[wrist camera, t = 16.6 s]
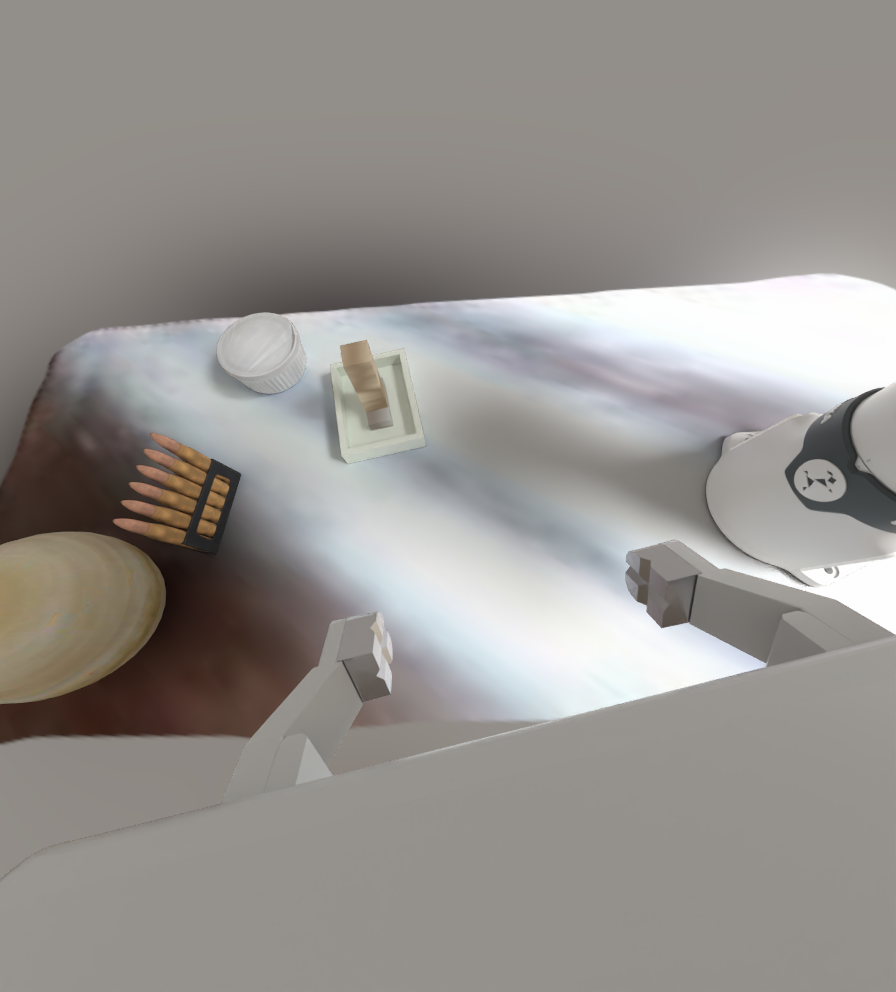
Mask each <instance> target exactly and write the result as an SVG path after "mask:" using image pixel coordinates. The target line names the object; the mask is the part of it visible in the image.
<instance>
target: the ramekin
mask: <svg viewBox="0 0 896 992" xmlns="http://www.w3.org/2000/svg"><path fill="white" fill-rule="evenodd" d="M217 359H218V362H219V364H220V365H221V367H222V368H223V369H224V370H225V371H226V372H227V373H228V374H229V375H231V376H232V377H234V378H236V379H238V380H239V381H241V382H242V383H243V384H245V385H246V386H247V387H249V388H250V389H252V390H254V391H256V392H260V393H265V394H274V393H280V392H283V391H286V390H288V389H290V388H291V387H293V386H294V385H295V384H296V383H298V381H299V380H300V379H301V378H302V376H303V374H304V372H305V369H306V354H305V352H304V349H303V347H302V344H301V342H300V338H299V334H298V332H297V330H296V328H295V327H294V325H293V324H292V323H291V322H290V321H289V320H288V319H287V318H285V317H283V316H281V315H278V314H274V313H256V314H252V315H248V316H246V317H243V318H241V319H239V320H238V321H236V322H235V323H233V324H232V325H231V326H230V327H228V328H227V330H226V331H225V332H224V333H223V334H222V336H221V337H220V339H219V341H218V344H217Z"/></svg>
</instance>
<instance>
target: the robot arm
mask: <svg viewBox="0 0 896 992" xmlns="http://www.w3.org/2000/svg"><path fill="white" fill-rule="evenodd" d="M706 498H707V503H708V507H709V510H710V512H711V515H712V517H713V519H714V521H715V522H716V524H717V526H718V527H719V528H720V530H721V531H722V532H723V533H724V535H725V536H726V537H727V538H728V539H729V540H730V541H731V542H732V543H733V544H735V545H736V546H737V547H738V548H740V549H741V550H742V551H744V552H745V553H747V554H749V555H750V556H752V557H754V558H756V559H758V560H760V561H763V562H765V563H768V564H771V565H775V566H778V567H780V568H783V569H785V570H787V571H789V572H790V573H792V574H793V575H794V576H796V577H797V578H799V579H800V580H802V581H803V582H805V583H806V584H808V585H810V586H813V587H821V586H826V585H830V584H832V583H834V582H836V581H838V580H839V579H841V578H843V577H845V576H847V575H849V574H851V573H853V572H855V571H857V570H859V569H860V568H862V567H864V566H866V565H868V564H870V563H872V562H874V561H876V560H882V559H887V558H892V557H896V382H895V383H893V384H891V385H889V386H887V387H883V388H877V389H873V390H871V391H868V392H865V393H863V394H861V395H859V396H857V397H855V398H851V399H849V400H847V401H845V402H843V403H841V404H839V405H837V406H836V407H834V408H833V409H831V410H830V411H829V412H827V413H824V414H816V413H815V412H811V413H807V414H804V415H801V414H795V415H792V416H790V417H788V418H786V419H784V420H782V421H780V422H778V423H776V424H775V425H773V426H771V427H769V428H767V429H765V430H763V431H760V432H739V433H734V434H732V435H730V436H728V437H726V438H725V440H724V442H723V446H722V455H721V458H720V459H719V461H718V462H717V463H716V465H715V466H714V467H713V469H712V470H711V472H710V474H709V477H708V480H707V485H706ZM626 562H627V563H628V564H629V565H630V567H629V569H628V570H627V571H626V573H625V581H626V584H627V587H628V590H629V592H630V593H631V595H632V596H633V597H634V598H635V600H636V601H637V602H640V603H642V604H645V605H647V613H648V614H649V615H650V616H651V617H652V618H653V619H654V620H655V621H656V623H657V624H658V625H659V626H660V627H661V628H665V627H669V626H674V625H679V624H683V623H688V622H690V623H689V624H691V625H693V626H695V627H697V628H699V629H701V630H703V631H705V632H707V633H709V634H710V635H712V636H714V637H716V638H718V639H720V640H722V641H724V642H726V643H728V644H730V645H732V646H734V647H736V648H738V649H739V650H741V651H743V652H745V653H747V654H749V655H751V656H753V657H755V658H757V659H759V660H761V661H763V662H765V663H766V665H765V668H761V669H757V670H753V671H749V672H745V673H741V674H737V675H733V676H729V677H725V678H721V679H717V680H713V681H709V682H705V683H701V684H697V685H693V686H689V687H685V688H681V689H677V690H673V691H669V692H665V693H661V694H657V695H653V696H649V697H645V698H641V699H637V700H633V701H629V702H625V703H621V704H618V705H614V706H610V707H606V708H602V709H598V710H594V711H590V712H586V713H582V714H578V715H574V716H570V717H566V718H562V719H558V720H554V721H550V722H546V723H542V724H538V725H534V726H530V727H526V728H521V729H518V730H514V731H510V732H506V733H501V734H498V735H493V736H489V737H486V738H482V739H477V740H473V741H470V742H465V743H461V744H458V745H453V746H449V747H446V748H442V749H438V750H434V751H430V752H426V753H422V754H418V755H414V756H410V757H406V758H402V759H398V760H394V761H390V762H386V763H382V764H378V765H374V766H370V767H366V768H362V769H358V770H354V771H350V772H346V773H342V774H338V775H334V776H333V775H332V774H331V772H330V770H329V769H328V766H329V764H330V762H331V760H332V758H333V757H334V755H335V753H336V751H337V749H338V748H339V746H340V744H341V742H342V741H343V739H344V737H345V735H346V733H347V732H348V730H349V728H350V726H351V725H352V723H353V721H354V719H355V717H356V716H357V714H358V712H359V710H360V709H361V707H362V705H363V703H362V702H366V701H369V700H373V699H376V698H380V697H384V696H387V695H391V679H392V673H391V671H390V668H389V665H390V663H391V662H392V643H391V639H390V635H389V632H388V630H387V629H385V628H384V627H383V624H384V619H383V617H382V614H381V612H379V611H377V612H372V613H368V614H363V615H358V616H354V617H349V618H346V619H341V620H336V621H332V623H331V624H330V625H329V629H328V632H327V636H326V639H325V643H324V647H323V650H322V654H321V658H320V661H319V665H318V667H315V668H313V669H312V670H311V671H310V672H309V673H308V674H307V675H306V677H305V678H304V679H303V680H302V681H301V682H300V683H299V684H298V686H297V687H296V688H295V689H294V690H293V691H292V692H291V693H290V695H289V696H288V697H287V698H286V699H285V700H284V701H283V702H282V704H281V705H280V706H279V707H278V708H277V709H276V710H275V712H274V713H273V714H272V715H271V716H270V717H269V718H268V719H267V721H266V722H265V723H264V724H263V725H262V726H261V727H260V728H259V730H258V731H257V732H256V733H255V734H254V735H253V736H252V737H251V739H250V740H249V741H248V742H247V743H246V744H245V746H244V748H243V751H242V753H241V755H240V758H239V760H238V763H237V765H236V768H235V770H234V773H233V775H232V778H231V780H230V783H229V785H228V787H227V790H226V792H225V795H224V797H223V800H222V802H221V804H218V805H214V806H210V807H206V808H202V809H198V810H194V811H190V812H186V813H182V814H178V815H174V816H170V817H166V818H162V819H158V820H154V821H150V822H146V823H142V824H138V825H134V826H130V827H126V828H122V829H118V830H114V831H110V832H106V833H103V834H98V835H94V836H90V837H85V838H81V839H77V840H72V841H68V842H64V843H60V844H57V845H54V846H50V847H47V848H45V849H42V850H40V851H38V852H36V853H34V854H33V855H31V856H29V857H28V858H26V859H25V860H23V861H22V862H21V863H19V864H18V865H17V866H16V867H14V868H13V869H12V870H11V871H10V872H8V873H7V874H6V875H4V876H3V877H2V878H1V879H0V992H896V635H895V634H893V633H891V632H889V631H888V630H886V629H884V628H883V627H881V626H879V625H878V624H876V623H874V622H872V621H871V620H869V619H867V618H866V617H864V616H862V615H861V614H859V613H857V612H855V611H854V610H852V609H850V608H849V607H847V606H845V605H844V604H842V603H840V602H838V601H837V600H834V599H831V598H827V597H823V596H820V595H816V594H813V593H809V592H806V591H802V590H799V589H795V588H792V587H788V586H785V585H781V584H778V583H774V582H771V581H767V580H764V579H760V578H757V577H753V576H750V575H746V574H743V573H739V572H736V571H732V570H729V569H725V568H724V569H718V568H717V567H715V566H714V565H713V564H711V563H710V562H708V561H707V560H705V559H704V558H703V557H701V556H700V555H698V554H697V553H695V552H694V551H693V550H691V549H690V548H688V547H687V546H686V545H684V544H683V543H681V542H680V541H677V540H671V541H668V542H664V543H660V544H657V545H653V546H649V547H645V548H641V549H637V550H632V551H629V552H628V554H627V555H626ZM824 569H825V570H826V572H825V571H824Z"/></svg>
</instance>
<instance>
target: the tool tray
mask: <svg viewBox="0 0 896 992" xmlns="http://www.w3.org/2000/svg"><path fill="white" fill-rule="evenodd" d="M372 356H373V359H374V361H375V364H376V367H377V369H378V372H379V375H380V378H383V380H384V383H385V387H386V392H387V397H388V402H389V407H390V412H391V417H392V422H393V426H391V427H387V428H383V429H378V430H374V431H371V429H370V427H369V425H368V420H367V415H366V411H365V409H364V407H363V405H362V403H361V401H360V399H359V397H358V395H357V393H356V391H355V389H354V387H353V385H352V383H351V381H350V379H349V377H348V375H347V374H346V372H345V370H344V368H343V362H340V363H335V364H331V365H330V369H331V377H332V385H333V393H334V401H335V409H336V417H337V425H338V433H339V441H340V449H341V456H342V457H343V458H344V460H345V461H346V462H347V463H348V464H350V463H354V462H359V461H363V460H368V459H372V458H377V457H381V456H385V455H390V454H394V453H399V452H403V451H407V450H412V449H416V448H421V447H425V446H426V443H425V438H424V434H423V430H422V425H421V421H420V416H419V412H418V408H417V403H416V399H415V394H414V390H413V386H412V381H411V377H410V373H409V368H408V364H407V360H406V355H405V351H404V349H399V350H395V351H390V352H385V353H381V354H376V355H372Z"/></svg>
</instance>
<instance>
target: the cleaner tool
mask: <svg viewBox="0 0 896 992" xmlns="http://www.w3.org/2000/svg"><path fill="white" fill-rule="evenodd" d="M340 349H341V355H342V362H343V368H344V370H345V372H346V374H347V375H348V377H349V379H350V381H351V383H352V385H353V387H354V389H355V391H356V393H357V395H358V397H359V399H360V401H361V403H362V405H363V407H364V409H365V411H366V415H367V420H368V425H369V427H370V429H371V431H374V430H378V429H383V428H387V427H391V426H393V422H392V417H391V412H390V407H389V402H388V397H387V392H386V387H385V383H384V380H383V378H380V375H379V372H378V369H377V367H376V364H375V361H374V359H373V356H372V353H371V351H370V348H369V345H368V342H367V340H364V341H360V342H355V343H351V344H346V345H341V346H340Z"/></svg>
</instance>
